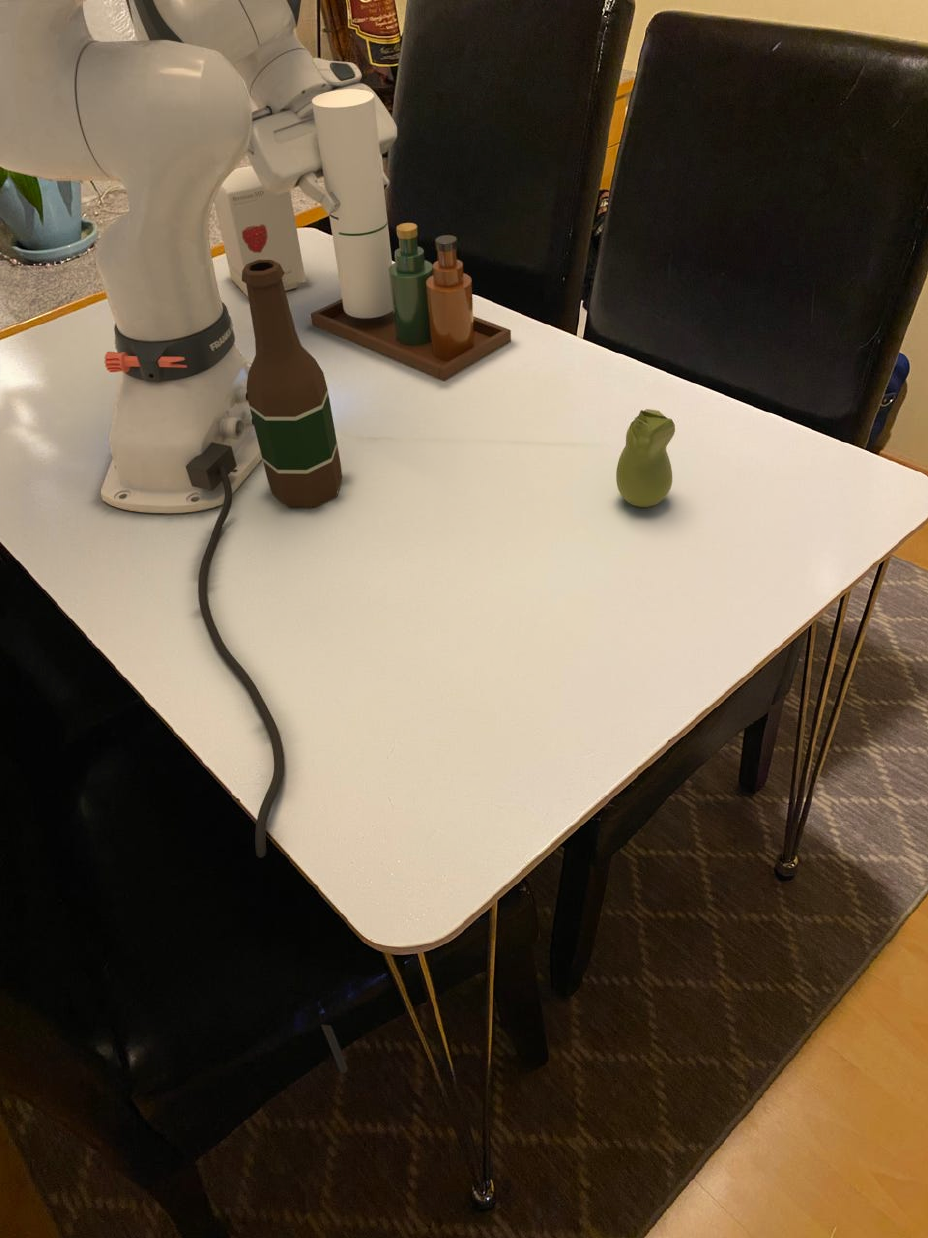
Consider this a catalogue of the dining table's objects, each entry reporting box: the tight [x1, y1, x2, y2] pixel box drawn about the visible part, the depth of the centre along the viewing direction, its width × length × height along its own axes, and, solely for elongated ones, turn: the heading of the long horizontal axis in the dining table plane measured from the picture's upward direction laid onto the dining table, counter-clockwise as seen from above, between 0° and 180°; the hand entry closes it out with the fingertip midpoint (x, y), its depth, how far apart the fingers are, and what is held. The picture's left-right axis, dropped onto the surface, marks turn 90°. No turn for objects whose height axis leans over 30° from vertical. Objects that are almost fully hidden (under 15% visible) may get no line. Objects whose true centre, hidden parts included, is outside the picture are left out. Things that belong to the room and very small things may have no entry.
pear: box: [615, 408, 676, 508], centre depth 87 cm, size 6×5×10 cm
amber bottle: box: [426, 234, 475, 361], centre depth 109 cm, size 6×6×14 cm
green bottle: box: [389, 222, 433, 346], centre depth 113 cm, size 6×6×14 cm
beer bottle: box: [242, 260, 343, 509], centre depth 87 cm, size 8×8×24 cm
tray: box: [310, 298, 512, 382], centre depth 118 cm, size 25×13×2 cm, turn 47°
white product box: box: [213, 165, 307, 298], centre depth 128 cm, size 9×9×15 cm
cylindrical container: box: [312, 89, 393, 318], centre depth 112 cm, size 7×7×25 cm
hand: (360, 198), depth 111 cm, fingers closed on cylindrical container, 7 cm apart
